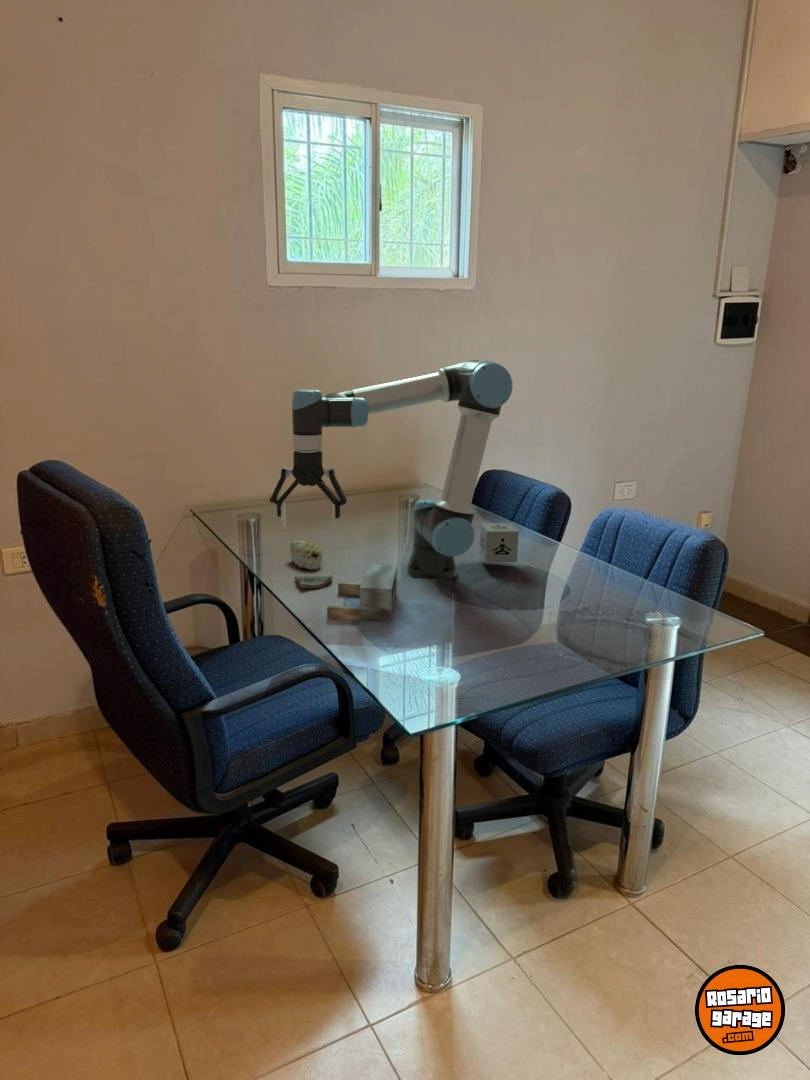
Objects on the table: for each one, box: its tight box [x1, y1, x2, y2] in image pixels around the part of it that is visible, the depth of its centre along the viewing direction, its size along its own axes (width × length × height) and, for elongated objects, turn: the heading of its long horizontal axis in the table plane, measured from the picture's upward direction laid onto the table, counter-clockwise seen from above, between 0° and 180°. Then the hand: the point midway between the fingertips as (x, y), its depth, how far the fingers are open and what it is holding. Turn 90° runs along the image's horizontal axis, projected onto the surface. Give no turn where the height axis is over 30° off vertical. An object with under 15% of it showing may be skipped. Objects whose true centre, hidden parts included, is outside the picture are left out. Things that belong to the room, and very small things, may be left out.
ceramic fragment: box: [294, 574, 334, 589], centre depth 209 cm, size 11×3×10 cm
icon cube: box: [478, 522, 519, 563], centre depth 237 cm, size 10×10×10 cm
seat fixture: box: [326, 563, 398, 623], centre depth 192 cm, size 16×19×8 cm
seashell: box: [290, 540, 323, 570], centre depth 224 cm, size 10×10×10 cm
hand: (309, 529), depth 201 cm, fingers open, 13 cm apart
